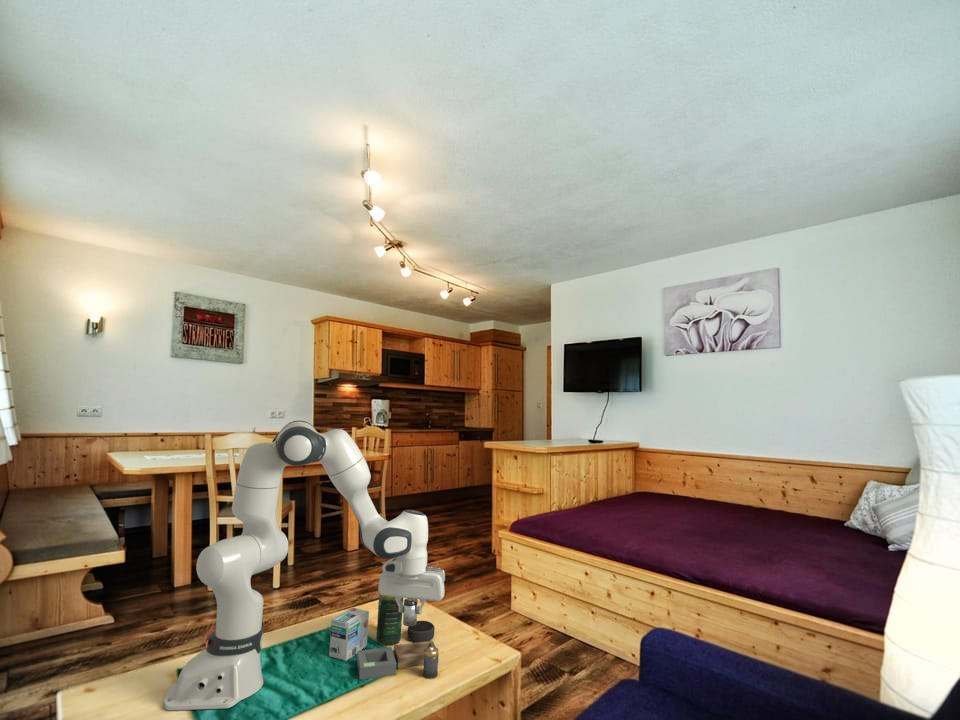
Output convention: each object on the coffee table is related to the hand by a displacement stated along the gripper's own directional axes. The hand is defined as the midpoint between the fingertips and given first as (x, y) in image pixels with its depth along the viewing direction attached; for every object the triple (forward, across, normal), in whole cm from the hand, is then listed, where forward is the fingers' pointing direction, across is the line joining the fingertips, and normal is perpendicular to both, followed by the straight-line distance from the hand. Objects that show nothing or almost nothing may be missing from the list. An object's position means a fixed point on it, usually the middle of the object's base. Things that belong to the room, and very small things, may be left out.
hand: (410, 612), depth 145 cm
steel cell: (+3, 0, 0) cm, 3 cm away
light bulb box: (+14, +20, -1) cm, 24 cm away
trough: (+14, -2, -1) cm, 14 cm away
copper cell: (+14, -9, +6) cm, 17 cm away
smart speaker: (+14, +1, -16) cm, 21 cm away
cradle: (+14, +8, +6) cm, 17 cm away
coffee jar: (+14, +11, -12) cm, 21 cm away
